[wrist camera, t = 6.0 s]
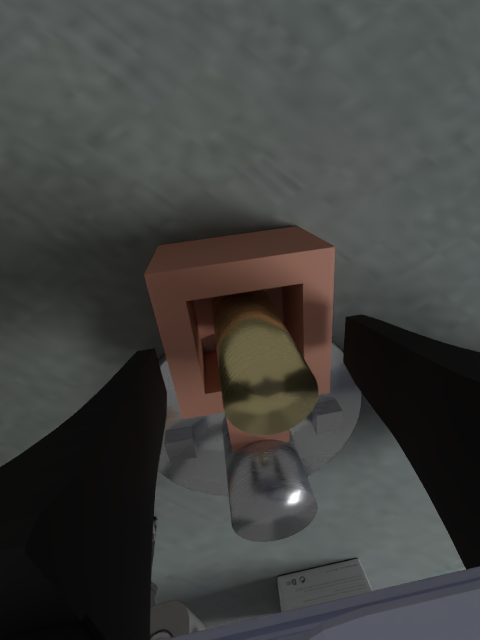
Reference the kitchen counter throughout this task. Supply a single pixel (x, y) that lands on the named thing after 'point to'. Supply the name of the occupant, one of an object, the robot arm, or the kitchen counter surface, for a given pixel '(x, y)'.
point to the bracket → (230, 278)
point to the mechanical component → (170, 613)
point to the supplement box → (322, 584)
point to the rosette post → (260, 457)
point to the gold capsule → (260, 366)
